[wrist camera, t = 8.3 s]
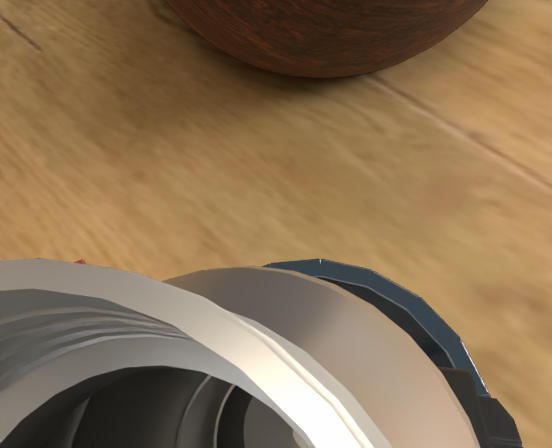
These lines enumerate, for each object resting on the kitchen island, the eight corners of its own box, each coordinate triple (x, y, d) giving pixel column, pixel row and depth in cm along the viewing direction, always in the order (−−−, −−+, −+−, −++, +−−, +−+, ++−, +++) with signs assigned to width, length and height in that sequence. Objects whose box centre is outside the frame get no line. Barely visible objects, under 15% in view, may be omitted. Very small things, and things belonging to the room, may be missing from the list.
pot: (153, 350, 26) (96, 334, 20) (381, 255, 26) (394, 211, 20) (235, 639, 21) (194, 733, 15) (513, 520, 22) (581, 566, 15)
